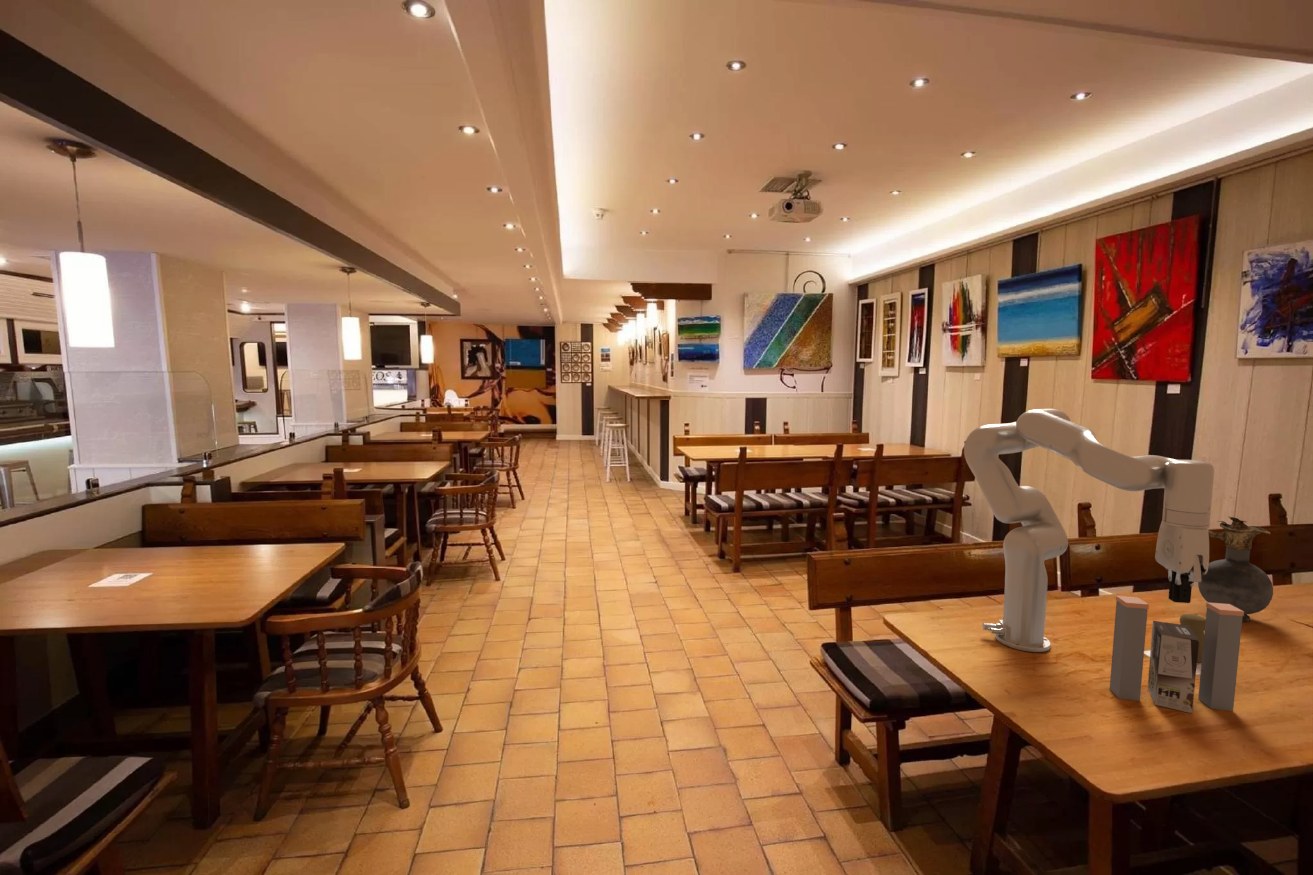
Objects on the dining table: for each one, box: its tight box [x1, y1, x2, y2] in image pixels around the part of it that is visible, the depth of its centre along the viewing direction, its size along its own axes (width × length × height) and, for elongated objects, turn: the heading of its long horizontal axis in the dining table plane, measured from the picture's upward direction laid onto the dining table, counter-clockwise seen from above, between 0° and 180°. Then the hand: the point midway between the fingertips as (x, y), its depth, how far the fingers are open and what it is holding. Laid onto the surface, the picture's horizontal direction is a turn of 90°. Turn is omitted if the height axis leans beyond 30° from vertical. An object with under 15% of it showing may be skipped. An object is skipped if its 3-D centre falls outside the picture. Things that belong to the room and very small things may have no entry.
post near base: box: [1109, 595, 1150, 702], centre depth 129 cm, size 4×4×22 cm
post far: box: [1197, 601, 1244, 712], centre depth 125 cm, size 4×4×22 cm
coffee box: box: [1147, 620, 1200, 714], centre depth 127 cm, size 9×6×16 cm
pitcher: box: [1197, 516, 1274, 623], centre depth 172 cm, size 11×19×30 cm, turn 32°
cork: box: [1179, 613, 1206, 664], centre depth 147 cm, size 6×6×11 cm
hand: (1179, 601), depth 126 cm, fingers closed
